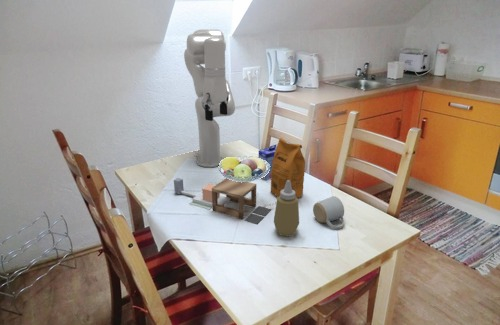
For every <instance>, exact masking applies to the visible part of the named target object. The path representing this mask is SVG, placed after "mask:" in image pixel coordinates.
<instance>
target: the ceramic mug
mask: <svg viewBox="0 0 500 325" xmlns="http://www.w3.org/2000/svg"><path fill="white" fill-rule="evenodd" d="M312 212H313V216H314V218H315V219H316V221H317V222H319V223H322V224H324V223H326V224H327V226H329V227H330V228H332V229H333V230H339V229H342V228H343V226H344V225H345V218H344V215H345V207H344V204H343V201H341V199H340V198H339V197H337V196H335V195H334V196H330V197H328V198H327V197H326V198H325V199H322V200H319V201H317V202H316V203H315V204H314V205H313V207H312ZM336 220H341V225H334V224H332V222H333V221H336Z"/></svg>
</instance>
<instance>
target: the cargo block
mask: <svg viewBox="0 0 500 325" xmlns="http://www.w3.org/2000/svg"><path fill="white" fill-rule="evenodd" d="M216 185H217V184H211V183H208V184H207V185H205V186H204V187H202V189H201V192H202V194H203V200H206V201H210V202H212V188H213V187H214V186H216ZM220 194H221V193H218V192H217V199H218V198H219V197H220V196H221V195H220Z"/></svg>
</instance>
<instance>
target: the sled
mask: <svg viewBox="0 0 500 325" xmlns="http://www.w3.org/2000/svg"><path fill="white" fill-rule="evenodd" d="M173 184H174V185H173V188H174V193H175V194H177V195H185V196H189V197H192V201H193V202H196V203H200V204H203V205H207V206H210V207H212V208H213V206H212V202H210V201H206V200H203V194H202V191H201V192H200V193H199V194H196V193H193V192H191V191H190V192H189V191H185V190H184V189H185V188H184V180H183V178H180V177H177V178H175V179H173ZM217 200H218V205H222V206H226V205H227V204H229V203H230V202H231V201H230V198H228V197H226V196H223V195H220V197H219V198H218V199H217Z"/></svg>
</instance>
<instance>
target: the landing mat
mask: <svg viewBox="0 0 500 325" xmlns="http://www.w3.org/2000/svg"><path fill="white" fill-rule="evenodd" d="M188 203H189V205H192V206H196V207H199V208H202V209H206V210H211V209H213V207H210V206H207V205H203V204H200V203H196V202H193V200H192V201H190V202H188Z"/></svg>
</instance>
